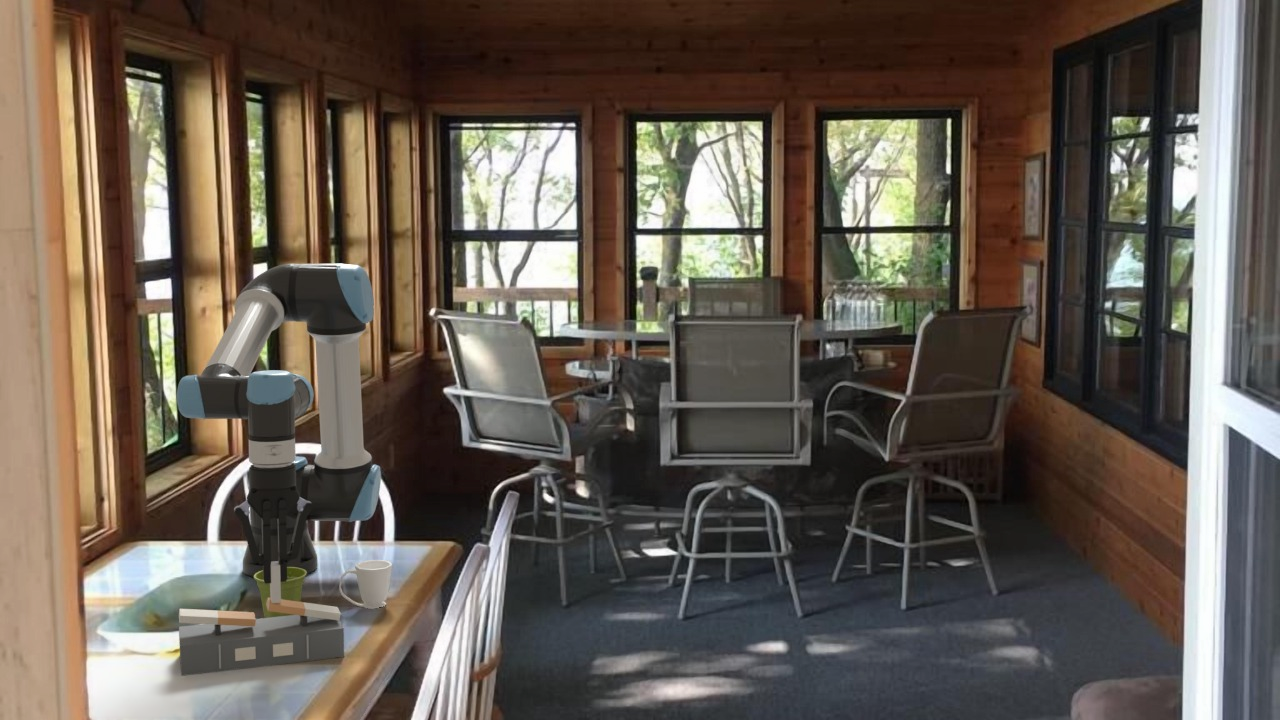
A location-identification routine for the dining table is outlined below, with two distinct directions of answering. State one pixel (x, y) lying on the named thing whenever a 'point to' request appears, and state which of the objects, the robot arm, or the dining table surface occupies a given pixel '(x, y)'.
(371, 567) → the cup
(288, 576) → the plant pot
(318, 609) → the rocker
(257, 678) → the dining table surface
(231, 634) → the switch unit
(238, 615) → the rocker
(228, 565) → the dining table surface
